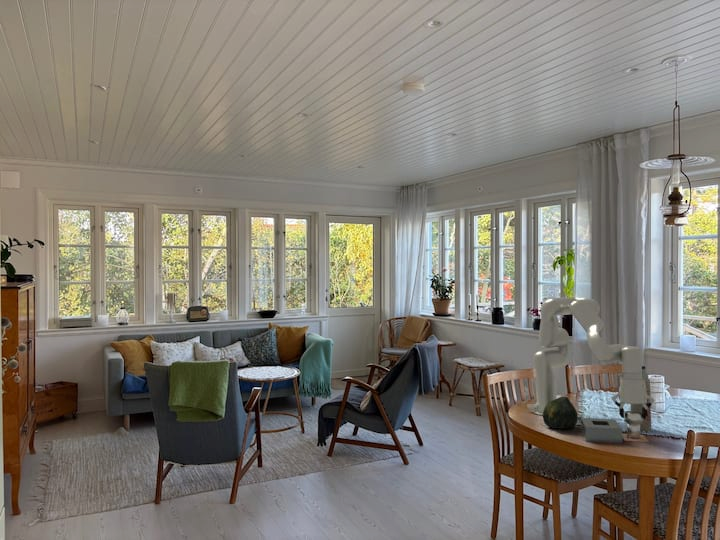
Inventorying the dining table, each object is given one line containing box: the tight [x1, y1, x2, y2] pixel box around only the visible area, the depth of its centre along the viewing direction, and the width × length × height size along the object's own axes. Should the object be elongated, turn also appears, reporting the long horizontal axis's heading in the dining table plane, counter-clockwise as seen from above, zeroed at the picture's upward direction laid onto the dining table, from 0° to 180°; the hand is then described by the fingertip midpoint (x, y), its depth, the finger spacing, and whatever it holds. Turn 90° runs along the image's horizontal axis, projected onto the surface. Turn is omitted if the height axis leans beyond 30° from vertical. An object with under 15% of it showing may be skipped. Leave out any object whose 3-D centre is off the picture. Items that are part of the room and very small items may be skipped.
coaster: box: [622, 433, 649, 443], centre depth 224 cm, size 9×9×1 cm
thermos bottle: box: [629, 365, 652, 433], centre depth 236 cm, size 8×8×28 cm
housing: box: [580, 417, 623, 444], centre depth 226 cm, size 14×14×6 cm
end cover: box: [623, 410, 642, 439], centre depth 224 cm, size 7×7×10 cm
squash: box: [542, 396, 578, 430], centre depth 242 cm, size 14×15×15 cm
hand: (633, 417), depth 224 cm, fingers open, 7 cm apart
